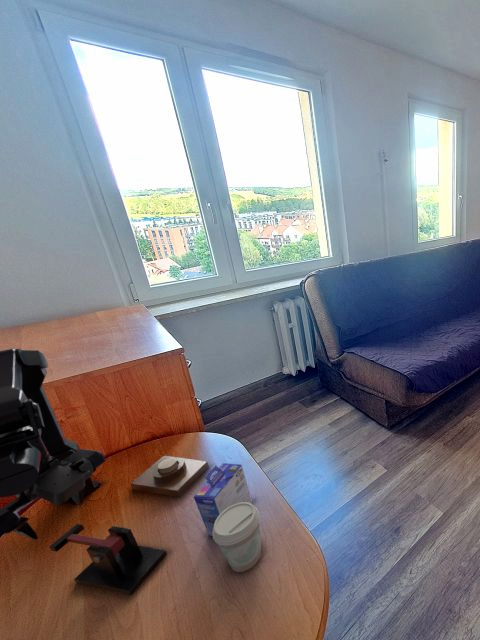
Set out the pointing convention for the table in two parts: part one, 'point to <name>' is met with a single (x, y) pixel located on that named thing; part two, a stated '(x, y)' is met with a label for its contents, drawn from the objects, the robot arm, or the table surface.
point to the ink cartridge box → (221, 492)
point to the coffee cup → (239, 535)
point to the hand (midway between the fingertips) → (58, 520)
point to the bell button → (167, 465)
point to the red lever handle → (87, 540)
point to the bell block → (170, 477)
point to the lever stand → (120, 564)
